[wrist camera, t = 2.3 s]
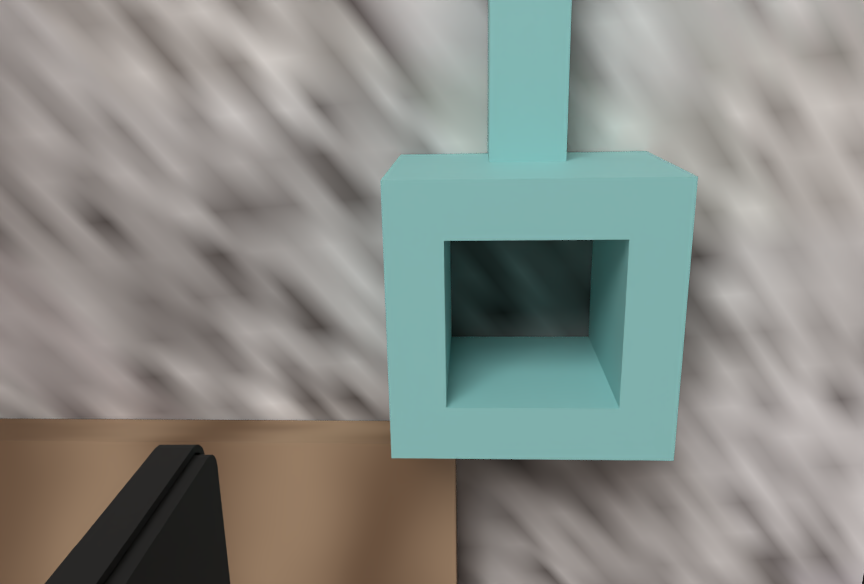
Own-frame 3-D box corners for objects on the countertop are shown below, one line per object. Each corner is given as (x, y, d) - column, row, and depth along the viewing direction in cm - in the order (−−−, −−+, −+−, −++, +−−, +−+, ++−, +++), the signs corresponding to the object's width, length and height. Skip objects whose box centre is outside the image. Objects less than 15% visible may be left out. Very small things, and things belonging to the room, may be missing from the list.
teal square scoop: (631, 378, 23) (673, 460, 18) (407, 378, 24) (391, 458, 19) (661, -83, 19) (723, -130, 15) (393, -74, 20) (368, -118, 15)
